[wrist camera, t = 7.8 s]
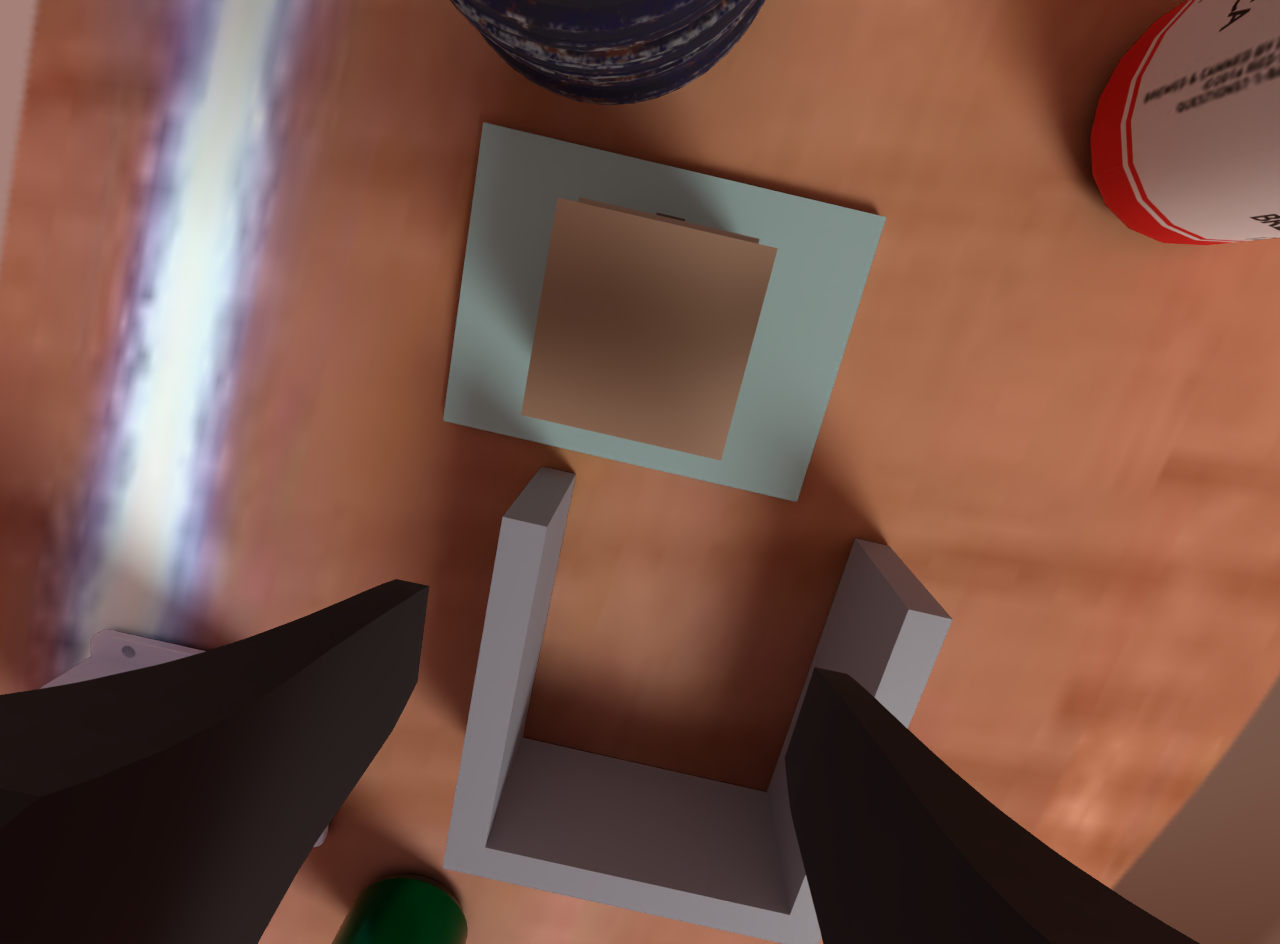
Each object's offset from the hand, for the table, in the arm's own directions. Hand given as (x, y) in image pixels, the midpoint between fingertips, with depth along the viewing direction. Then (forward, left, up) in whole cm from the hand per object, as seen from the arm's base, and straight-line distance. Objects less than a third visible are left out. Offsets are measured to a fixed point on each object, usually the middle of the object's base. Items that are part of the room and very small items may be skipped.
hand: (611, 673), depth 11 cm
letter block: (-1, +6, -10) cm, 11 cm away
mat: (-1, +6, -10) cm, 12 cm away
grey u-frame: (+3, -6, -10) cm, 12 cm away
